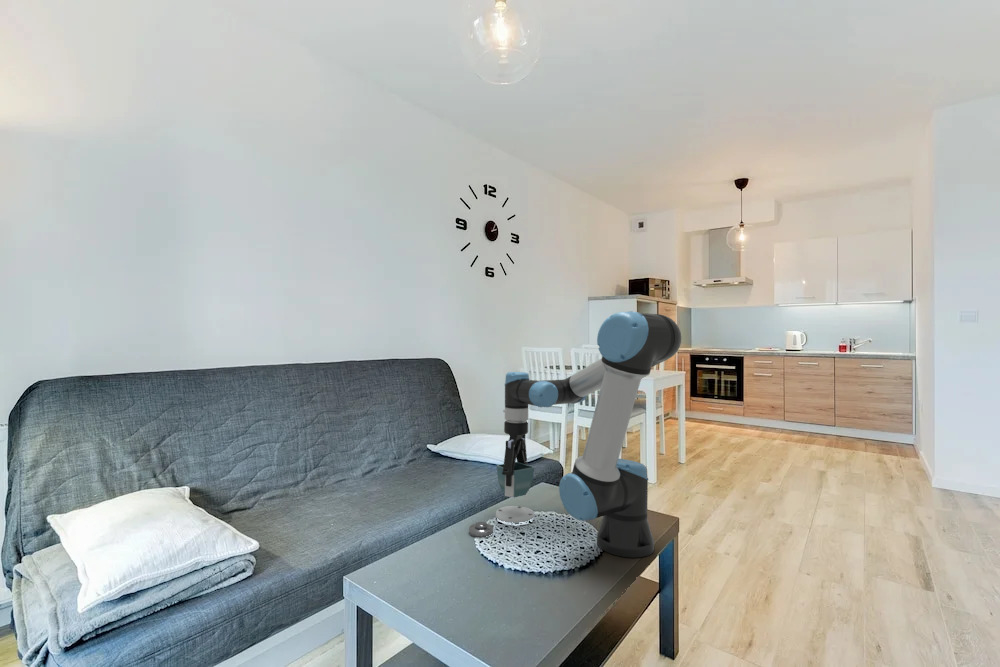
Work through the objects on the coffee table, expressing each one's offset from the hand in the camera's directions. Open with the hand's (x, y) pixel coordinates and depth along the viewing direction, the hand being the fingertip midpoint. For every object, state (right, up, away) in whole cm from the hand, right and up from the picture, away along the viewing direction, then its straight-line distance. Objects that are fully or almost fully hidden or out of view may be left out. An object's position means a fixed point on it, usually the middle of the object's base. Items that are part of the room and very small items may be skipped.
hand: (515, 490), depth 144 cm
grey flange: (0, -9, 0) cm, 9 cm away
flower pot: (0, -1, 0) cm, 1 cm away
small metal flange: (-10, -8, -12) cm, 18 cm away
